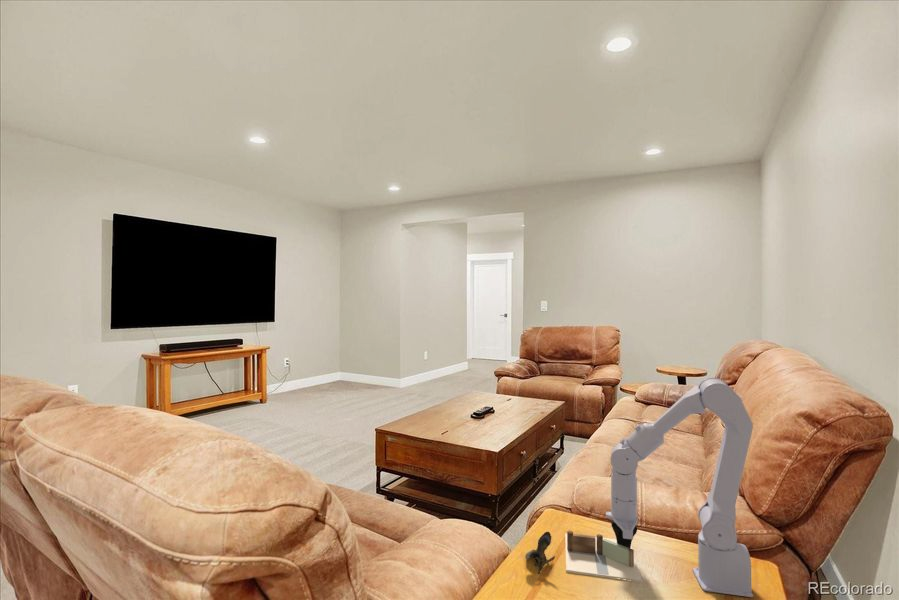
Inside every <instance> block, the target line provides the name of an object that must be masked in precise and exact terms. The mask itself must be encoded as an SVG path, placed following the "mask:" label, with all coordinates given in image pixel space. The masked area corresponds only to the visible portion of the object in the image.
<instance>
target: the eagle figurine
mask: <svg viewBox="0 0 899 600" xmlns="http://www.w3.org/2000/svg"><path fill="white" fill-rule="evenodd" d="M551 543H552V535H551V533H550V531H545V532H544V533H543V534H542V535H541V536H540V537H539V539H538V540H537V548H536V549H534V548H533V549H532V550H530V551H529V550H528V552H526V553H525V556H524V557H525V560H530V559H531V558H532V559H534V561H535V563H534V564H533V565H534V566H536V567H538V571H537V574H538V575H540V573H541V571H543V569H544V567H545V566H546V565H547V566H549V567H550V566H551V565H550V562H552V561H554V559H556V556H555V555H554V556H552V557H550V558H549V559H548V558H547V557H546V553H545V551H546V550H547V549H548V547H549V546H550V545H551Z"/></svg>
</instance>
